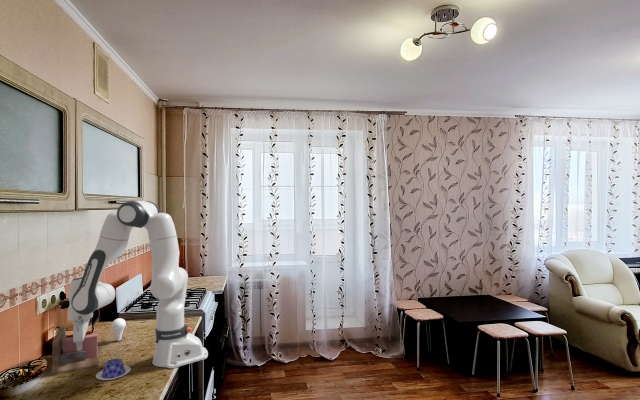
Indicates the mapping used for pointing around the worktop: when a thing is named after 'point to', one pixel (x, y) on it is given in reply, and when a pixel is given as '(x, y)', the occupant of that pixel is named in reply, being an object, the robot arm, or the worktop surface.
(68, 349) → the book
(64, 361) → the shelf stand
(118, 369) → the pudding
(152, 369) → the worktop surface
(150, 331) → the worktop surface
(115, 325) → the lightbulb
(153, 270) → the robot arm
